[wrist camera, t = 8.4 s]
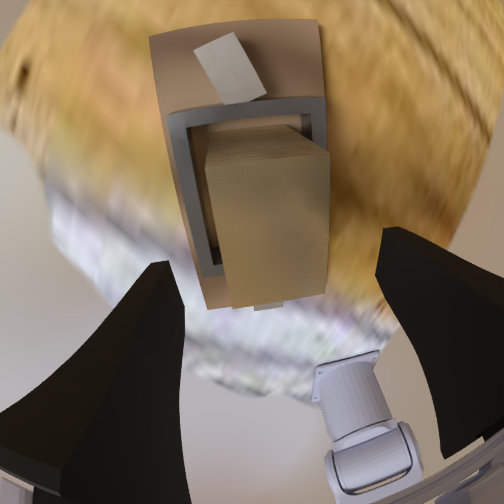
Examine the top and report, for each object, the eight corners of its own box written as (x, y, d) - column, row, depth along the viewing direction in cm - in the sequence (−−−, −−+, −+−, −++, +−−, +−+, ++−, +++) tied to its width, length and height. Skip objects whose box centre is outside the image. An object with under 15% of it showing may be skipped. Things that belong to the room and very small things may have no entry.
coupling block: (283, 123, 14) (330, 153, 8) (289, 218, 18) (325, 293, 12) (210, 132, 14) (204, 168, 8) (226, 228, 17) (232, 308, 12)
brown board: (318, 283, 22) (330, 309, 20) (207, 300, 22) (207, 329, 19) (311, 23, 12) (330, 12, 9) (152, 39, 11) (138, 30, 9)
